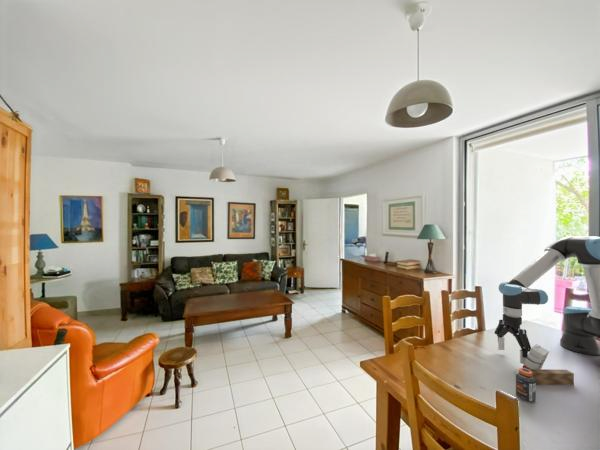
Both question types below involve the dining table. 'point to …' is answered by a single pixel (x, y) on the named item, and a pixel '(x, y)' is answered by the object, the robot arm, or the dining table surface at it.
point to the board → (552, 377)
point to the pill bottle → (525, 385)
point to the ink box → (536, 357)
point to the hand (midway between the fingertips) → (511, 356)
